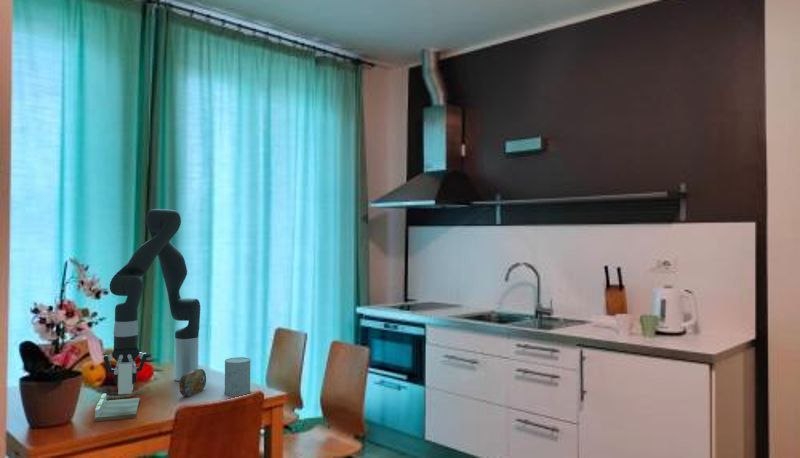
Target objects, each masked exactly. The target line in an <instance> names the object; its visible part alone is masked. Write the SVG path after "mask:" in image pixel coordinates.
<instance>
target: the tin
mask: <svg viewBox="0 0 800 458" xmlns="http://www.w3.org/2000/svg"><path fill="white" fill-rule="evenodd" d="M206 384H207V374H206V372H205V370H204V369H202V368H200V369H199V368H198V369H196V370H193V371H191V372H189V373H186V374H184V375H183V376H182V377H181V379H180V381H179V393H180V396H183V397H193V396H194V395H196V394H199V393H200V392H202V391H203V390H204V388H205V386H206Z"/></svg>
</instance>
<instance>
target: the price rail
mask: <svg viewBox="0 0 800 458" xmlns="http://www.w3.org/2000/svg"><path fill="white" fill-rule="evenodd" d="M106 401H107V393H102V395H101V396H100V398H99V401H98V402H97V404H96V407H95V409H94V419H95V418H97V417H99V416H100V414H101V412H102V410H103V407H104V405H105V403H106Z"/></svg>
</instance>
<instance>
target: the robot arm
mask: <svg viewBox="0 0 800 458" xmlns="http://www.w3.org/2000/svg"><path fill="white" fill-rule="evenodd" d="M181 218H182V217H181V214H180V213H179V212H178V211H177V210H174V209H167V208H166V209H165V208H163V209H162V208H153V209H150V210H148V212H147V214H146V225H147V229H148V232H149V236H150V237H151V238H150V239H148V240H146V241H145V242H144V243H143V244H141V245H140V246H139V247H137V249H135V250H134V253H133V254H132V255H131V257H130V259H129V260H128V262H127V263H126V264H125V265H124V266H122V268H120V270H118V272H116V273H115V274H114V275H113V277H112V278H111V279H110V283H109V291H110V293H111V294H112V295H114V296H118V297H120V296H121V297H126V300H125V302H120V303H118V304H116V305H115V306H114V326H113V351H112V353H110V354H105V355H104V356H103V360H104V365H105V367H106V370H107V372H108V373H109V374H113V383H114V384H115V385H116V386H118V367H119V363H121V362H132V371H133V373H132V384H133V385H135V384H136V383H137V380H138V373H139V372H141V371H142V370H143V368H144V366H145V364H146V363H145V362H146V359H147V357H148V353H147V352H142V351H140V349H139V322H138V310H139V305H140V301H141V297H142V294H143V292H144V291H143V290H144V281H143V279H142V277H144V276H145V275H146V274H147V273H148V271H149V269H150V268H151V266H152V264H153V262H154V260H155V259H156V258H158V261H159V262H158V263H159V265H160V266H159V267H160V269H161V274H162V277H163V281H164V284H165V288H166V292H167V297H168V303H169V305H168V306H169V310H170V311H169V312H170V314H171V317H172V319H173V320H175V321H178V322H179V321H180V322H186V321H187V322H188V323H187V325H186V326H185V327H182V328H180V329H177V330H175V333H174V381H178V382H180V379H181V377H182V376H183V375H184V374H186V373H189V372H191V371H193V370H196V369H199V351H200V350H199V348H200V347H199V346H200V345H199V342H200V341H199V337H200V334H199V333H200V322H201V321H200V318H201V303H200V300H199V299H197V298H191V297H190V298H187V297H186V298H182V297H181V293H180V290H181V288H182V286H183V284H184V282H185V280H186V278H187V275H188V269H187V265H186V264H187V263H186V260H185V257H184V256H183V254H182V252H180V250H179V249H177V247H176V246H175V245H174V244H173V243H172V242H171V239H172V238H173V237H174V236H175V235H176V234H177V232H178V231H179V229H180V227H181V223H182V219H181ZM138 356H139V359H140V363H139V366H138V367H137V365H136V361H135V360H136V359H137V358H138ZM112 358H113V359H114V360H115V361H116V366H115V368H113V366H112V363H111V361H112Z"/></svg>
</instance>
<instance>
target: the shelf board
mask: <svg viewBox="0 0 800 458" xmlns="http://www.w3.org/2000/svg"><path fill="white" fill-rule="evenodd" d="M140 400H141V398H140V397H133V398H121V399H110V400H106V403H105V405H104V407H103V410H102V412H101V414H100V416H99V417H97V418H95V417H94V422H103V421H114V420H124V419H135V418H134V417H136V418H137V415H138V410H139V407H140V402H141V401H140Z"/></svg>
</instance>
